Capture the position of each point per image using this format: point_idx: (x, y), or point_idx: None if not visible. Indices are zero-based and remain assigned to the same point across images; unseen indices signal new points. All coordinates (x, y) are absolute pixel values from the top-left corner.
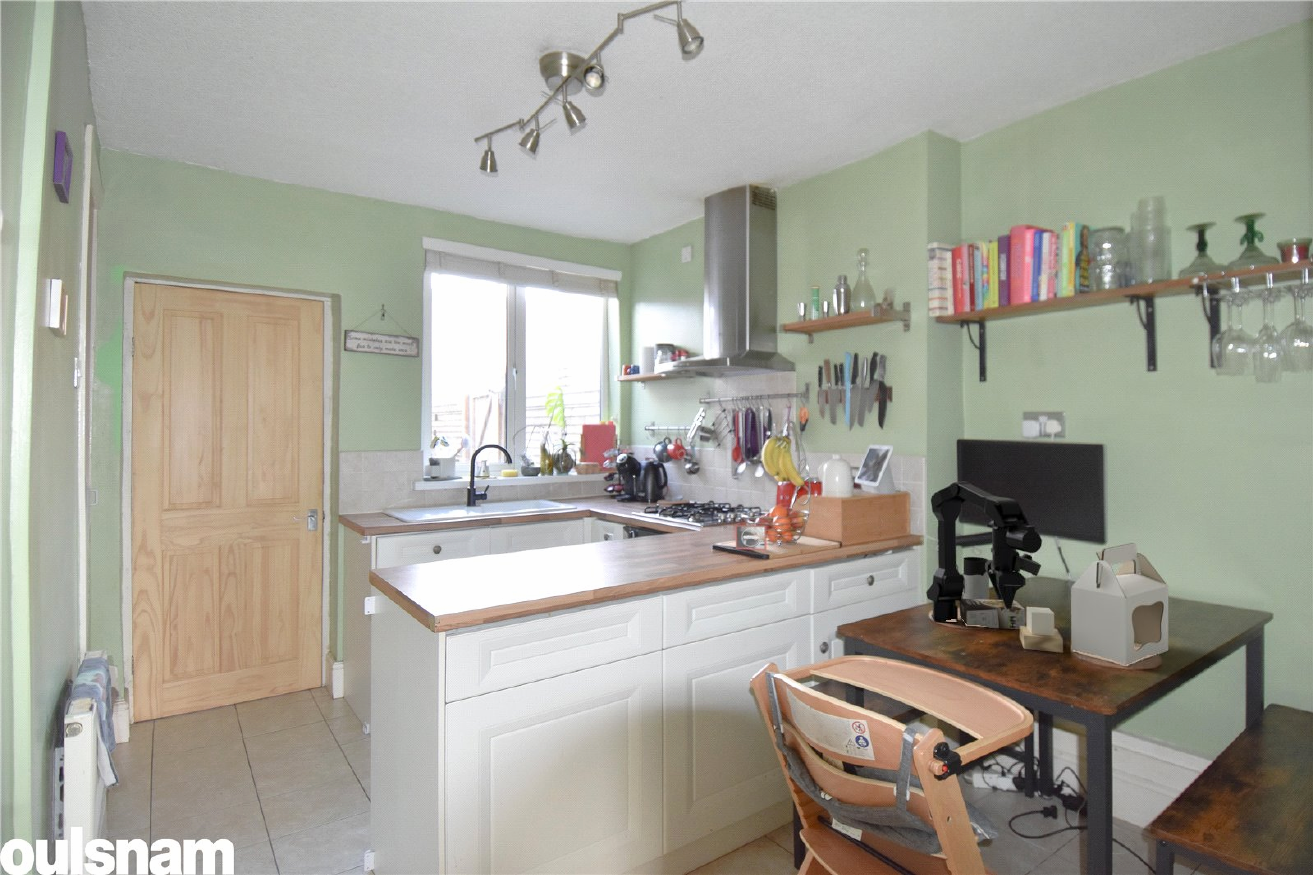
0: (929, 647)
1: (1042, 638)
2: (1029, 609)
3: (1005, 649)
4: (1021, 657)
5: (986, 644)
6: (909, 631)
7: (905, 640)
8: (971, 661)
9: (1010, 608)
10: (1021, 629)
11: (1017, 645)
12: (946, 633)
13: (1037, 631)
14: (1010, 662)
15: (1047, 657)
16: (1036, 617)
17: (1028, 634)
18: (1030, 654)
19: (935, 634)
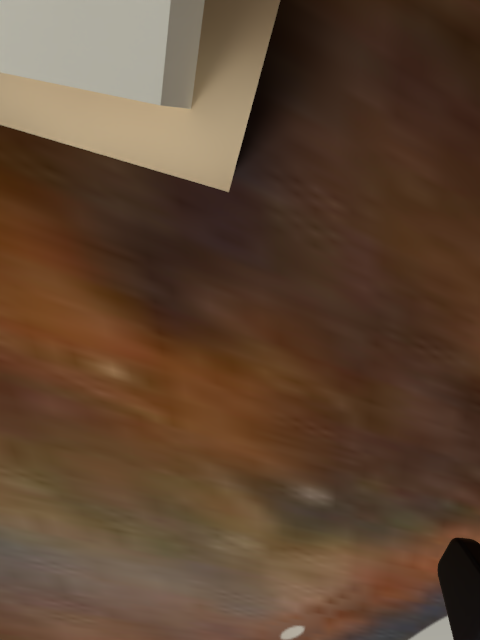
0: (237, 578)
1: (267, 41)
2: (1, 66)
3: (249, 296)
4: (387, 263)
5: (168, 362)
6: (25, 596)
7: (156, 624)
8: (416, 493)
9: (472, 544)
10: (57, 141)
11: (164, 193)
12: (12, 482)
13: (195, 51)
14: (454, 348)
15: (404, 92)
16: (177, 38)
17: (199, 142)
18: (339, 185)
19: (43, 525)
